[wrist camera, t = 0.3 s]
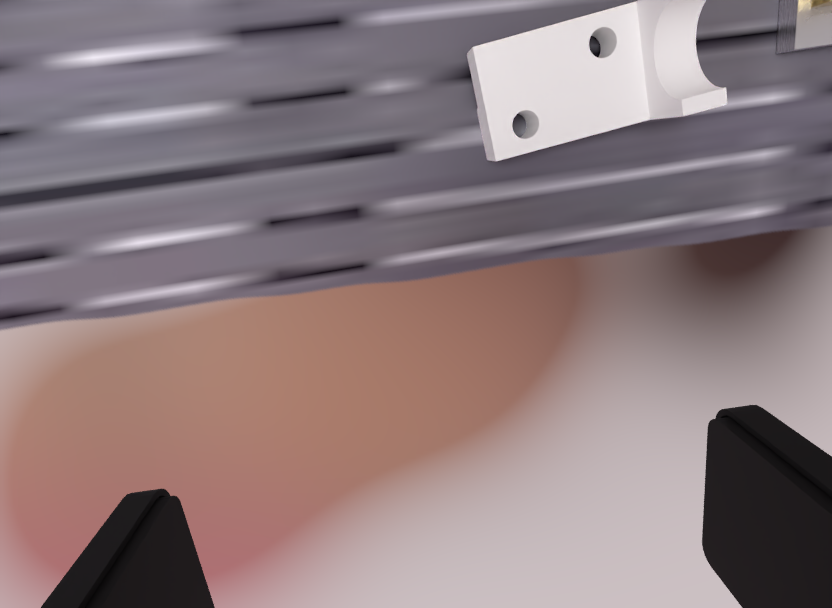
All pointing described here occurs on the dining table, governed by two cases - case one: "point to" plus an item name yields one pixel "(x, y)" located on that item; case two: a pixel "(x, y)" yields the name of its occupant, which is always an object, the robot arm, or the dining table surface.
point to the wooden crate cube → (821, 3)
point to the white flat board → (803, 26)
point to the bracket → (591, 76)
